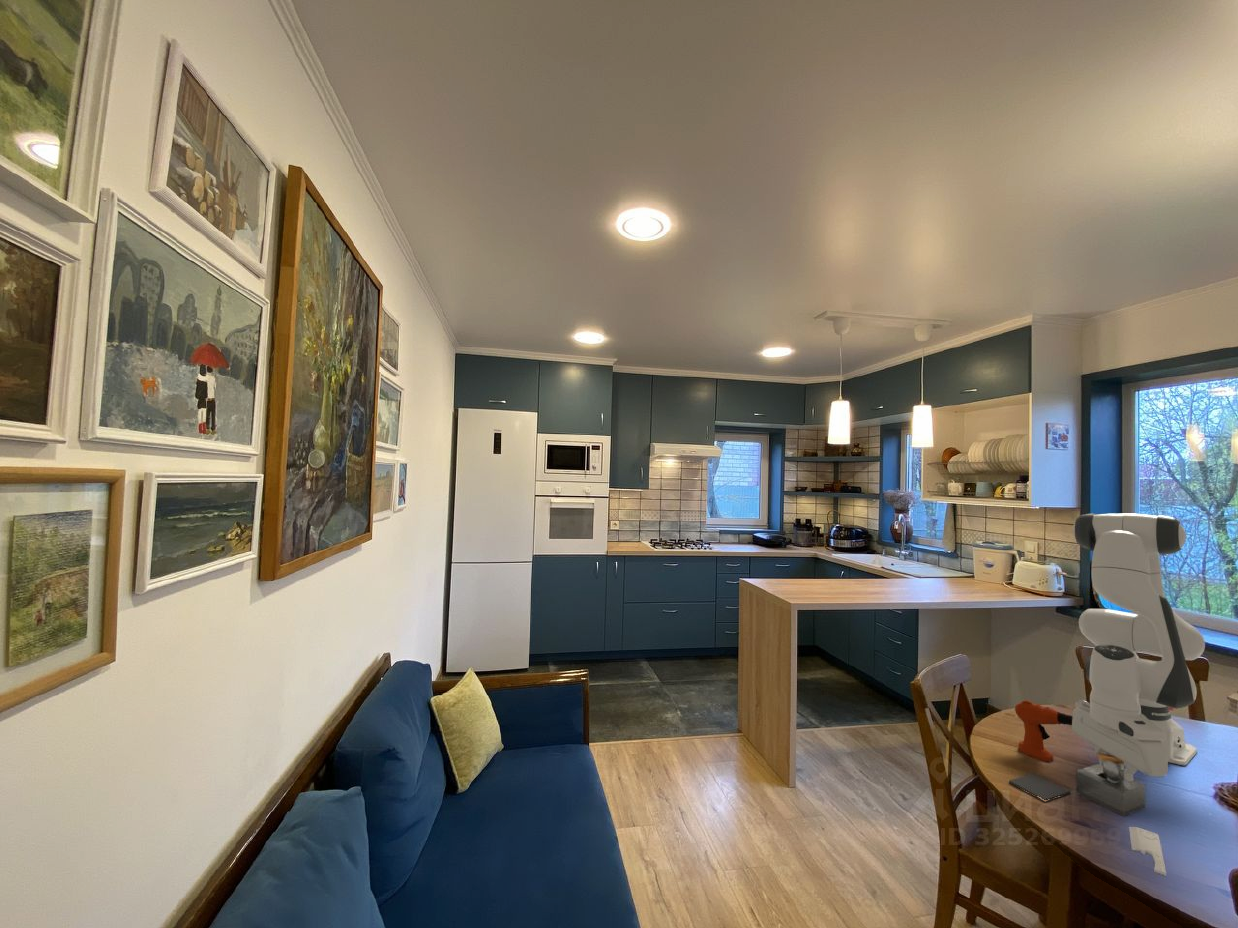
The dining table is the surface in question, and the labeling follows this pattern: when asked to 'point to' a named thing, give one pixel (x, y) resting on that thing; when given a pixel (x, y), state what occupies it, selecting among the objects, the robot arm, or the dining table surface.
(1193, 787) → the dining table surface
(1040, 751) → the toy drill
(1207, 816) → the dining table surface
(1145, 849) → the cream flat piece
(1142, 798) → the block
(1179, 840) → the dining table surface
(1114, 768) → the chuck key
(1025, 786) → the rubber mat
